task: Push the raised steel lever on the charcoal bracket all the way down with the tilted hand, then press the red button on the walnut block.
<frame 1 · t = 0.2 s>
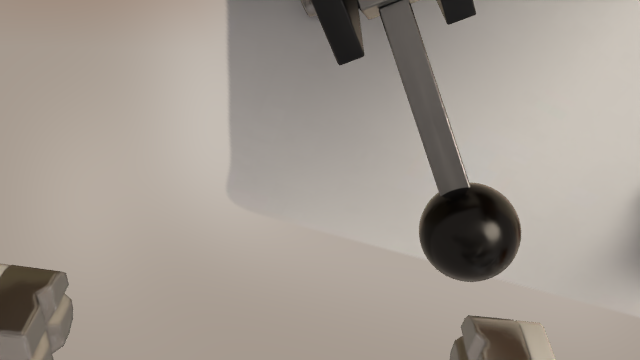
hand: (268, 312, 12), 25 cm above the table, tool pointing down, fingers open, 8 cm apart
lever: (427, 106, 20), point 15 cm above the table, hinge at 30.0°
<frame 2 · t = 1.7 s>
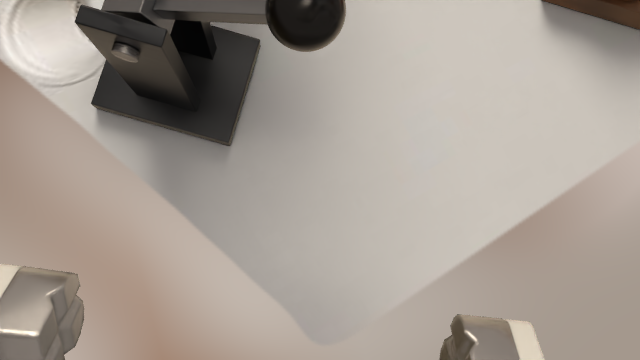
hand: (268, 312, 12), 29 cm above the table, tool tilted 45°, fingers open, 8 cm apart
lever: (220, 7, 28), point 15 cm above the table, hinge at 30.0°
bracket: (179, 76, 42), on the table
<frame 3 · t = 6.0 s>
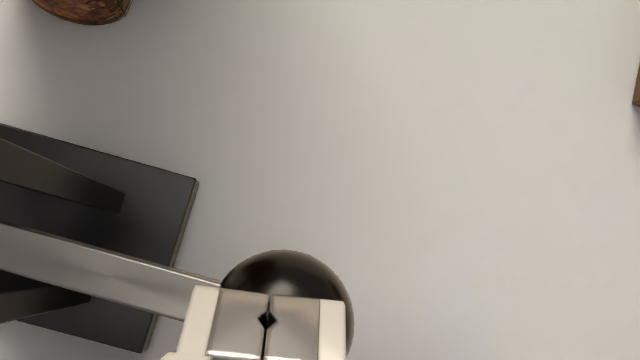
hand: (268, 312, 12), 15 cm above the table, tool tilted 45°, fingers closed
lever: (96, 270, 14), point 12 cm above the table, hinge at 4.3°, touching gripper
bracket: (68, 234, 26), on the table
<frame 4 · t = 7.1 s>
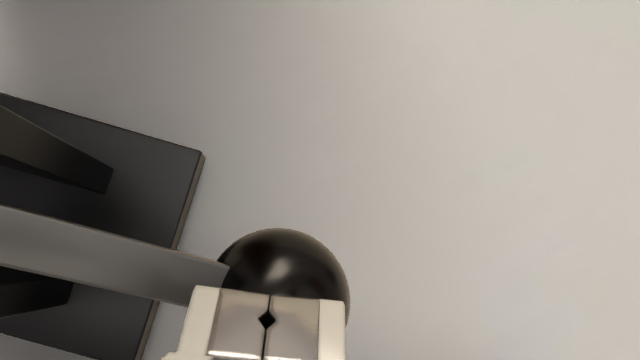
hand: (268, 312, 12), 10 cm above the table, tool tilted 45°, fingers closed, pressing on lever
lever: (77, 252, 12), point 10 cm above the table, hinge at -25.9°, touching gripper
bracket: (43, 220, 21), on the table
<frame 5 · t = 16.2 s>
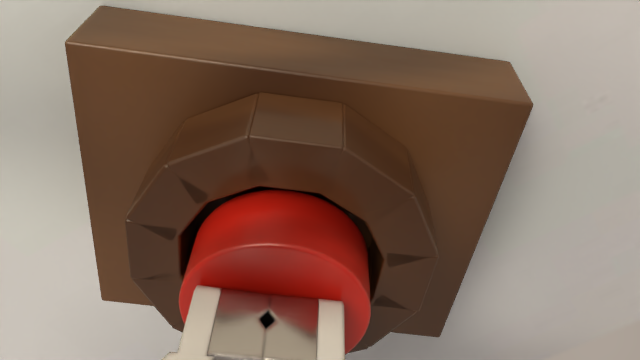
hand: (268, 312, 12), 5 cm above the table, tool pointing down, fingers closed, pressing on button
button: (278, 284, 12), point 4 cm above the table, slide at 0.1 cm, touching gripper
button block: (292, 166, 16), on the table
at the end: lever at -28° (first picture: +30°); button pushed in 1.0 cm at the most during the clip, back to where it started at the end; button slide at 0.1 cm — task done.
